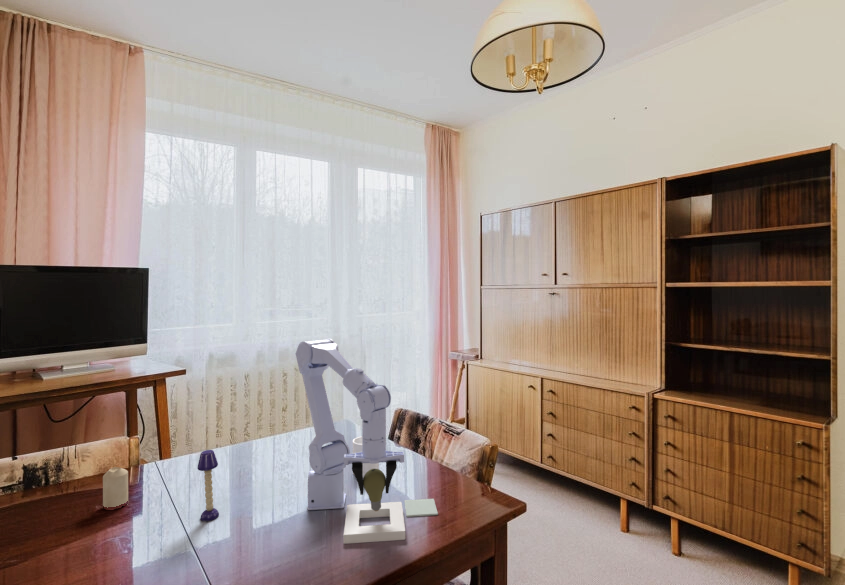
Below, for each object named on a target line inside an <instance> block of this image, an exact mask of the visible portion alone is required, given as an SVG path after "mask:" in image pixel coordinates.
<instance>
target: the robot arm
mask: <svg viewBox="0 0 845 585" xmlns="http://www.w3.org/2000/svg"><path fill="white" fill-rule="evenodd" d="M295 356H296V357H295V358H296V361H297V366H298V372H299V373H300V374H301V376H302V380H303V386H304V390H305V393H306V394H305V395H306V399H307V403H308V408H309V412H310V416H311V420H312V425H313V429H314V433H315V437H313V439H312V441H311V442H310V443H309V444H308V451H309V453H308V454H309V456H308V461H309V465H310V468H311V469H310V470H309V471H308V476H307V510H308V511H316V510H317V511H318V510H335V509H344V508H345V505H346V504H345V503H346V499H347V498H346V496H347V493H346V492H344V490H345V489H344V486H345V484H344V483H345V482H344V479H345V478H344V475H345V474H344V473H345V472H344V468H346V466H349V465H351V470H352V474H353V473H354V474H353V476H354V477H355V479H356V481H357V484H358V488H359V493H360V495H361V496H363V495H364V486H363V478H364V477H363V463H371V464H376V463H379V464H381V463H385V477H386V485H385V488H384V490H385V494H389V492H390V485H391V482H392V479H393V477H394V474H395V472H396V470H397V463H398V462H399V463H401V464H402V463H405V453H404V451H393V450H387V409H388V407H389V406H390V404H391V402H392V396H391V393H390V390H389V389H388V387H387V386H386V385H384V384H378V383H375V381H373V380H372V379H371V377H370V376H368V375H366V373H364V371H365V370H363V369H362V368H358V367H354V368H353V366H352V365H351V364H350V363H349V362H348V360H347V359H346V358H345V357H344V356H343V355H342V354H341V352H340V351H339V345H338V344H337V343H336V342H335V340H333V339H332V338H326V339H320V340H319V339H318V340H310V341H308V340H307V341H306V340H305V341H304V340H303V341H301V342H299V344H298V345H297V348H296V351H295ZM328 368H331V369H332V370H333V371H335V372H336V374H338V375H339V376H340V377H341V378H342V384H343V386H344V387H345V388H346V389H347V391H349V392H350V393H351V394H352V395H353V397H354V398H356V404H357V407H358V409H359V416H360V419H361V420H362V421H361V424H362V426H361V427H362V428H361V429H362V433H361V434H362V452H359V453H353V452H352V453H351V451H350V447H349V445H348V444H347V442H346V440H345V435H344V434H342V433H340V432H339V431H337V430H336V428H335V423H334V421H333V417H332V416H333V415H332V413H331V412H332V411H331V408H330V404H329V398H328V396H327V394H328V393H327V390H326V387H325V383H324V378H323V374H324V372H325V371H326V370H327V369H328Z"/></svg>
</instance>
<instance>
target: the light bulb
mask: <svg viewBox="0 0 845 585" xmlns="http://www.w3.org/2000/svg"><path fill="white" fill-rule="evenodd" d="M385 485H386V474H384V472H383V471H382V470H380V468H379V469H371V470H369V471H368V472H366V474H365V475H364V477H363V489H364V490H365V492H366V494H367V496H368V499H369V501H370V503H371V509H373V510H374V511H378V510H379V509H380V508H381V503H382V498H383V493H384V490H385Z"/></svg>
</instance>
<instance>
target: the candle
mask: <svg viewBox="0 0 845 585" xmlns="http://www.w3.org/2000/svg"><path fill="white" fill-rule="evenodd" d="M127 501H128V502H129V471H128V470H127V469H125V468H122V467H117V466H114V467H112V468H110V469H108V471H106V472H105V473H104V474H103V476H102V507H103V506H104V507H107V508H108V507H116V506H119V505H121V504H124V503H126V502H127Z"/></svg>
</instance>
